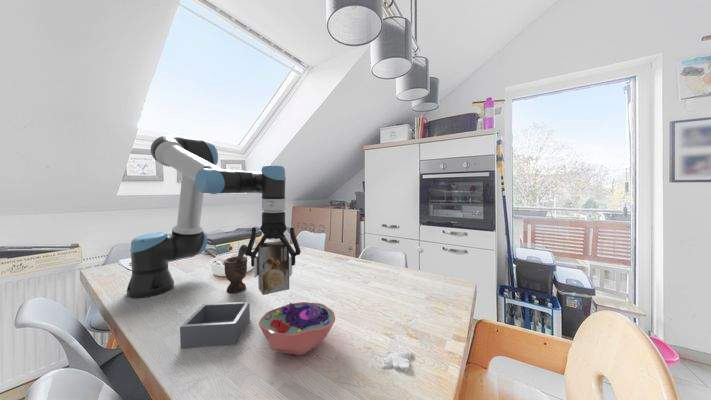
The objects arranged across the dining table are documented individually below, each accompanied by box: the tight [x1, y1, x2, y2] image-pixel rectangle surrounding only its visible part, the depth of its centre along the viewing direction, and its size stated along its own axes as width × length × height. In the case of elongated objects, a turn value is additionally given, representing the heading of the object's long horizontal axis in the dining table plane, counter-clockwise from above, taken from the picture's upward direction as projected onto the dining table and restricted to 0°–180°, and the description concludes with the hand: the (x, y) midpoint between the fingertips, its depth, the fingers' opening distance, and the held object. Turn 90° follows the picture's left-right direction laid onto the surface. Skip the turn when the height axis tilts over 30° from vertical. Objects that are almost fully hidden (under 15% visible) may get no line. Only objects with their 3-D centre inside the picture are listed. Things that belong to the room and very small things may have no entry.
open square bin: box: [179, 301, 251, 350], centre depth 74 cm, size 14×13×6 cm
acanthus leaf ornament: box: [380, 350, 413, 372], centre depth 62 cm, size 8×7×2 cm
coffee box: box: [257, 240, 290, 296], centre depth 86 cm, size 9×6×16 cm
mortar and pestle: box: [223, 244, 248, 294], centre depth 104 cm, size 12×9×20 cm
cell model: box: [258, 301, 336, 356], centre depth 68 cm, size 17×20×11 cm
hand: (273, 275), depth 86 cm, fingers closed on coffee box, 11 cm apart
